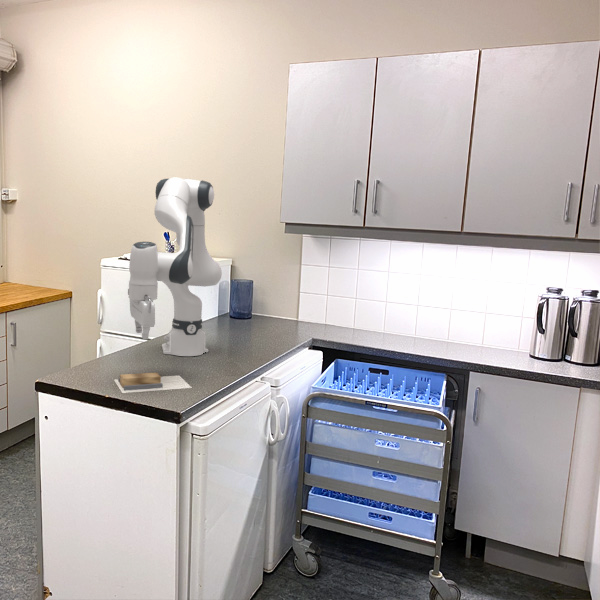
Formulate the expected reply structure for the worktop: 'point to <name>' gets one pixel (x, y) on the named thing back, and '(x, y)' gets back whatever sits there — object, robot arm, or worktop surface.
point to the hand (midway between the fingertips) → (141, 335)
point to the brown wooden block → (139, 379)
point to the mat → (156, 385)
